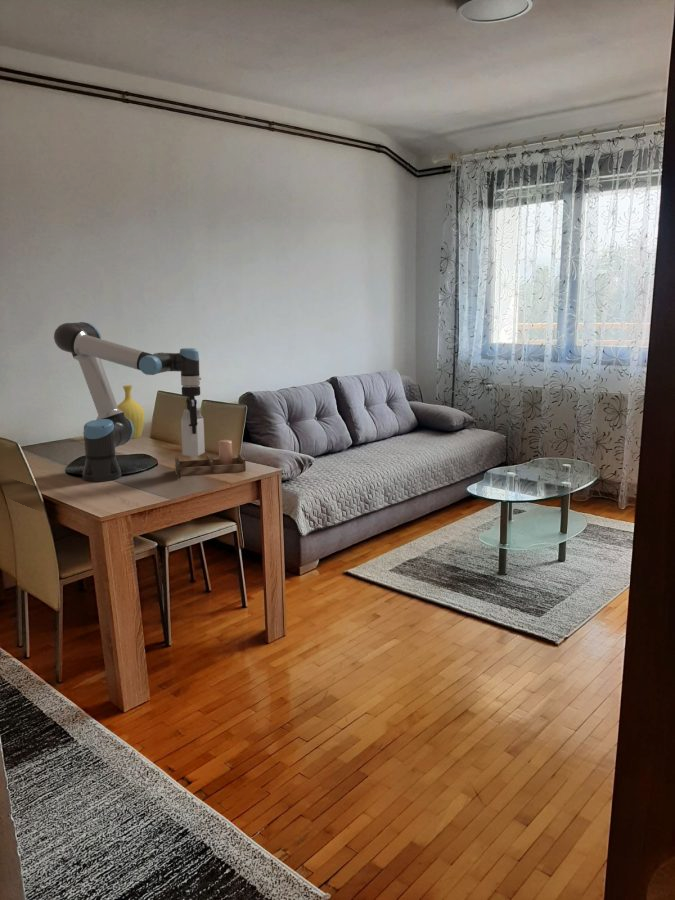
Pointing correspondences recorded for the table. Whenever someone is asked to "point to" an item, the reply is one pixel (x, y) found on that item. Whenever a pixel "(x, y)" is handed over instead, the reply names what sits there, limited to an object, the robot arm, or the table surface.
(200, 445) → the milk carton
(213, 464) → the rack
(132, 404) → the vase
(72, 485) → the table surface
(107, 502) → the table surface
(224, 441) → the canister
